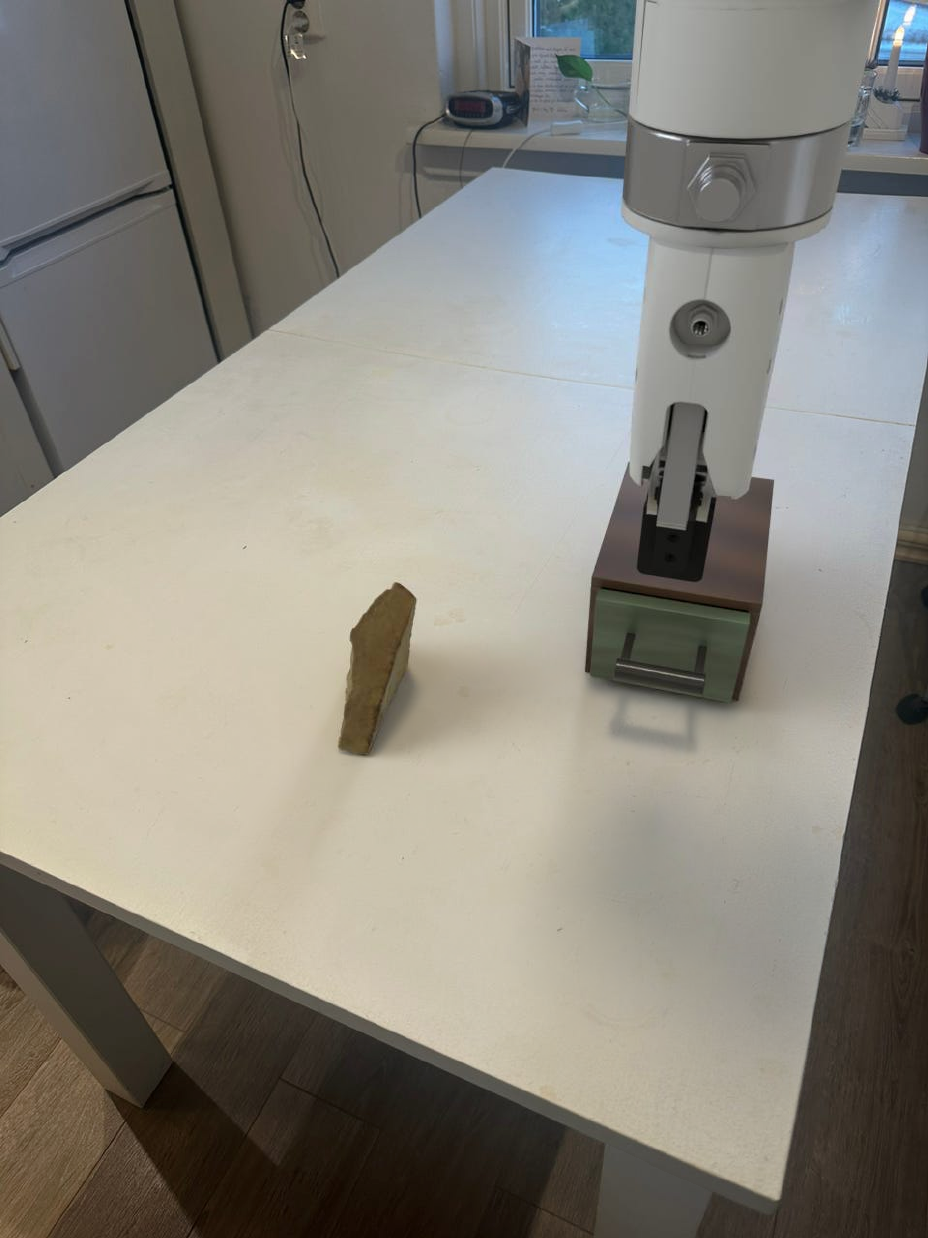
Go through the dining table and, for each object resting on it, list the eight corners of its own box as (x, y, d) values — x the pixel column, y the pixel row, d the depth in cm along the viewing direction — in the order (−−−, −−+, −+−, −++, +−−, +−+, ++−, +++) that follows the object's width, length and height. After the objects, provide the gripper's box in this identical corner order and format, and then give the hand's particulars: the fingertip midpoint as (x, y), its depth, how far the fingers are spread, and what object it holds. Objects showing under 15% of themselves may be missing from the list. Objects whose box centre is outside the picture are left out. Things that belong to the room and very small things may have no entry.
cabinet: (738, 701, 65) (762, 604, 58) (584, 672, 68) (591, 576, 61) (752, 572, 76) (774, 479, 69) (619, 552, 79) (628, 460, 72)
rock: (382, 766, 59) (473, 668, 63) (303, 671, 56) (403, 576, 61) (318, 758, 68) (402, 672, 72) (247, 675, 65) (338, 592, 70)
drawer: (725, 747, 61) (745, 668, 55) (578, 717, 63) (583, 639, 58) (745, 580, 74) (762, 503, 68) (622, 561, 76) (630, 486, 71)
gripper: (840, 251, 25) (735, 687, 38) (839, 121, 36) (757, 496, 48) (584, 235, 27) (564, 656, 39) (654, 116, 38) (621, 478, 50)
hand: (670, 567), depth 44 cm, fingers closed
